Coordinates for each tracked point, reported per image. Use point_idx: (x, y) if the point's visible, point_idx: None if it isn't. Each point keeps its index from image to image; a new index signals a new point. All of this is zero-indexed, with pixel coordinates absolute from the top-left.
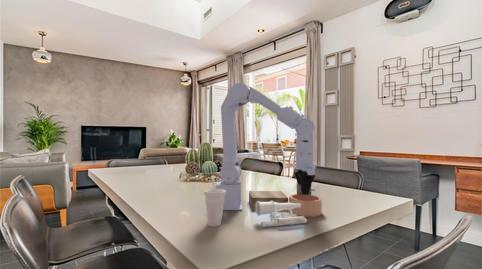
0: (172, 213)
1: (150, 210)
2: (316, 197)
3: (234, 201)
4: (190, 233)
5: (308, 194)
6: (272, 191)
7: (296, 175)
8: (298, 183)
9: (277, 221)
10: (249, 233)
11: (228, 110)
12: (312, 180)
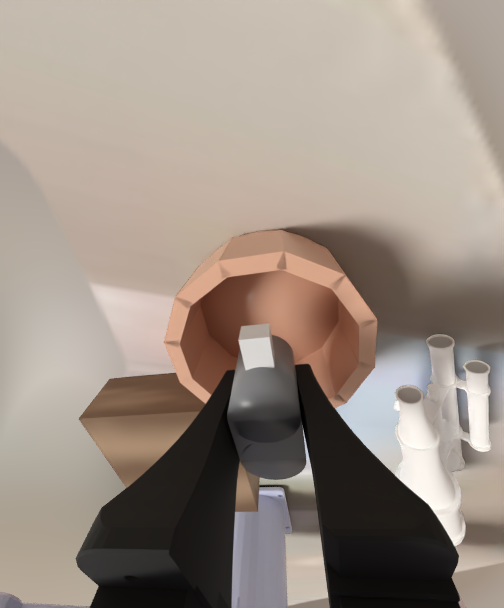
0: (319, 573)
1: (301, 592)
2: (227, 276)
3: (281, 531)
4: (456, 550)
5: (293, 359)
6: (109, 450)
7: (232, 569)
8: (238, 467)
9: (468, 439)
10: (490, 478)
11: None
12: (376, 460)
